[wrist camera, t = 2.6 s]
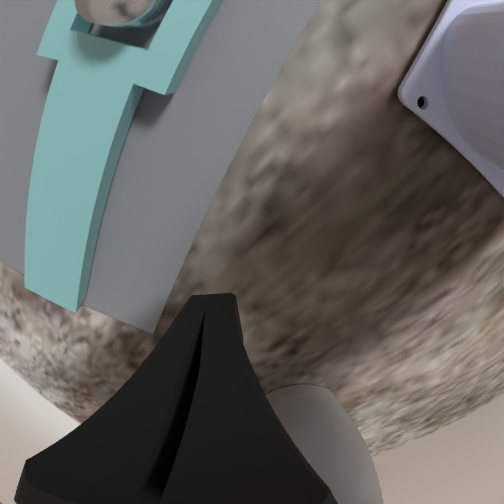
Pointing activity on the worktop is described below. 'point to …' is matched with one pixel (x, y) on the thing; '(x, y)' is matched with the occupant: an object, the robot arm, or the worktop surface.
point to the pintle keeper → (124, 13)
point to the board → (145, 143)
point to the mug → (328, 441)
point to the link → (92, 135)
